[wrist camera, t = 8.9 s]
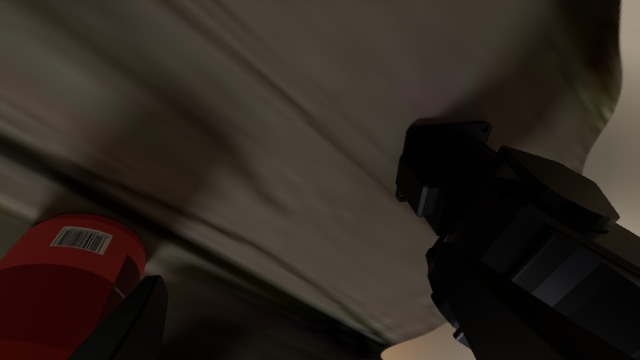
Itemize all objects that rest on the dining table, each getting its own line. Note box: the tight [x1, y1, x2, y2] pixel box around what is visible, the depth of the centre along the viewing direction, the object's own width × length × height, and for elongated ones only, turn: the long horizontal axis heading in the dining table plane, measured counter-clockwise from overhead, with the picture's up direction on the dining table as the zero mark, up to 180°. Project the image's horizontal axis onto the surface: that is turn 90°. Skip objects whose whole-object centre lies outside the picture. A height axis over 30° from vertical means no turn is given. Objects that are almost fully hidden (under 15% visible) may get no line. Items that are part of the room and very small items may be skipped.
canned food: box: [0, 214, 146, 360], centre depth 19 cm, size 8×8×11 cm
